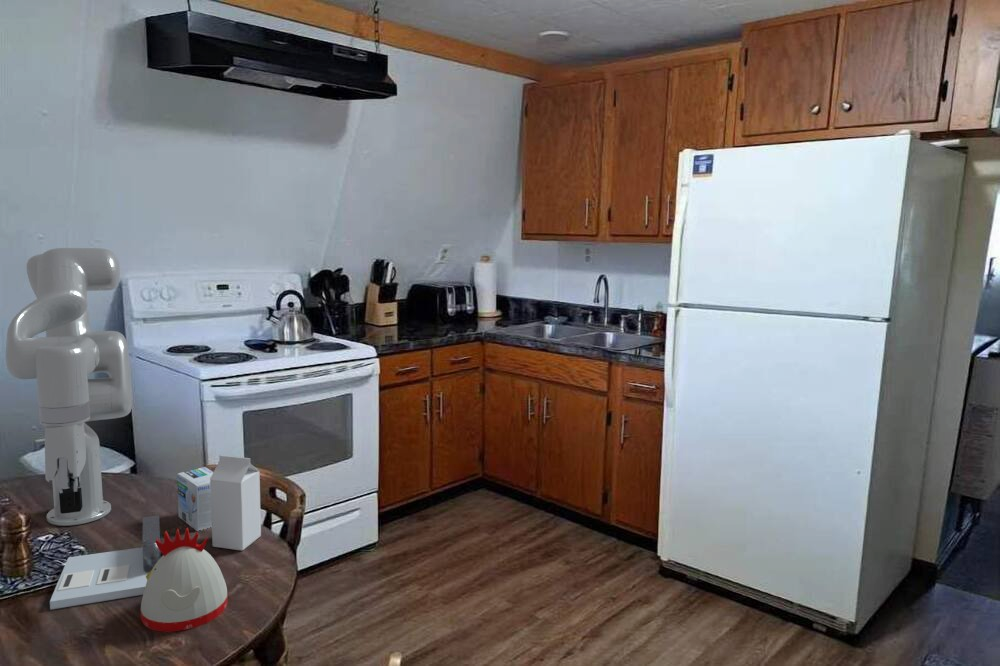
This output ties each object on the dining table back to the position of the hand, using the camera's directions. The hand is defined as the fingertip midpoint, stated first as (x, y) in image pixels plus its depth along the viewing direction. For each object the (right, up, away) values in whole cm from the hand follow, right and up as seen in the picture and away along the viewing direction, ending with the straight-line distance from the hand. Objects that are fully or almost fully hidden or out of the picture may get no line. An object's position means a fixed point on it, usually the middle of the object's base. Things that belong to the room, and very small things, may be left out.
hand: (71, 510), depth 123 cm
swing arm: (+8, -12, +12) cm, 19 cm away
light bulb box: (+9, -11, +32) cm, 35 cm away
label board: (+3, -14, +6) cm, 16 cm away
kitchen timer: (+22, -17, -3) cm, 28 cm away
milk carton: (+21, -13, +22) cm, 33 cm away
